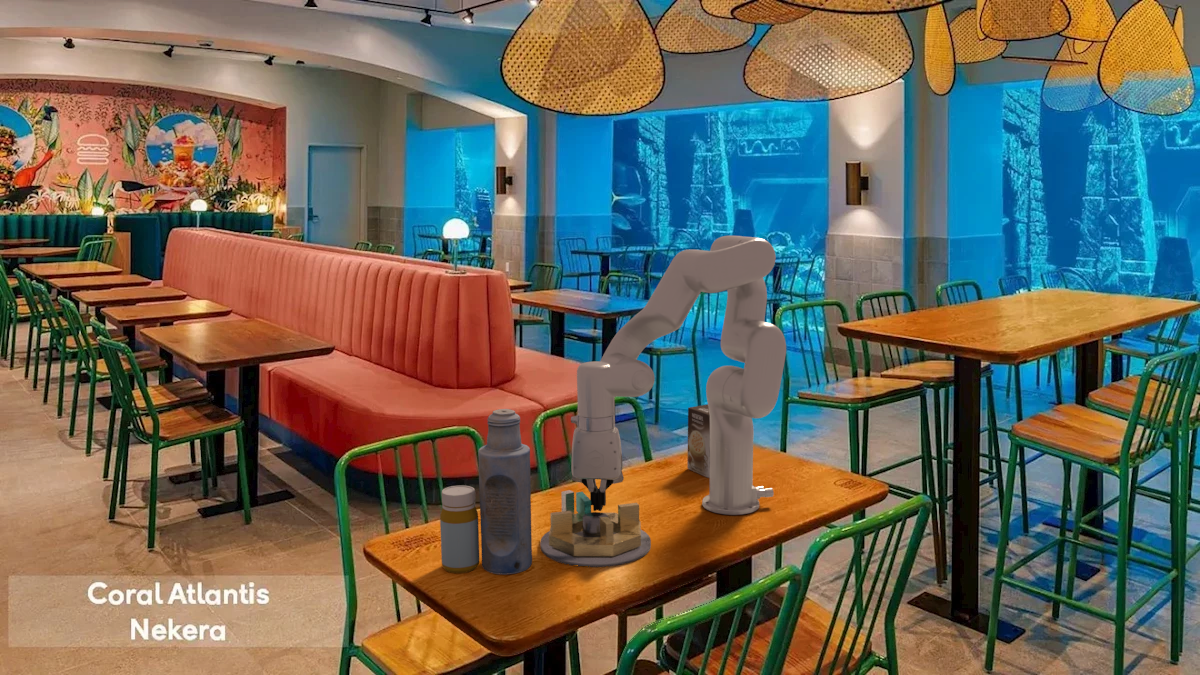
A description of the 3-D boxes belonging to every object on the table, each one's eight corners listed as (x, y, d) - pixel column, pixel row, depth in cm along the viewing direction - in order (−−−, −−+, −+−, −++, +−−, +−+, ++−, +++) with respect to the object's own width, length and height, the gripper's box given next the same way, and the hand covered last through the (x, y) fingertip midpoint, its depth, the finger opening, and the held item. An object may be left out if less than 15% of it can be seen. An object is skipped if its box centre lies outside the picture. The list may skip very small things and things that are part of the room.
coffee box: (686, 468, 239) (686, 407, 236) (706, 465, 242) (707, 403, 240) (707, 478, 231) (708, 414, 229) (728, 474, 234) (729, 411, 232)
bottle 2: (475, 574, 175) (470, 416, 170) (489, 554, 185) (485, 404, 180) (525, 577, 174) (522, 418, 169) (537, 556, 183) (534, 405, 178)
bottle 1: (487, 565, 179) (484, 489, 177) (460, 577, 174) (457, 498, 171) (461, 557, 183) (459, 482, 181) (434, 568, 178) (431, 491, 176)
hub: (635, 521, 202) (635, 485, 201) (663, 561, 180) (663, 521, 179) (533, 529, 198) (532, 492, 196) (549, 571, 176) (548, 530, 174)
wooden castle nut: (554, 519, 199) (554, 491, 198) (640, 520, 198) (640, 491, 198) (546, 555, 180) (546, 524, 179) (641, 556, 179) (641, 525, 178)
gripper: (556, 426, 190) (559, 513, 193) (630, 428, 187) (631, 516, 190) (564, 417, 197) (566, 501, 200) (635, 418, 195) (636, 503, 198)
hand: (598, 508), depth 195 cm, fingers closed
